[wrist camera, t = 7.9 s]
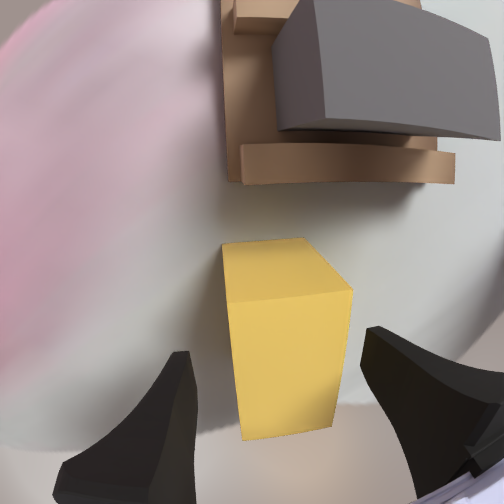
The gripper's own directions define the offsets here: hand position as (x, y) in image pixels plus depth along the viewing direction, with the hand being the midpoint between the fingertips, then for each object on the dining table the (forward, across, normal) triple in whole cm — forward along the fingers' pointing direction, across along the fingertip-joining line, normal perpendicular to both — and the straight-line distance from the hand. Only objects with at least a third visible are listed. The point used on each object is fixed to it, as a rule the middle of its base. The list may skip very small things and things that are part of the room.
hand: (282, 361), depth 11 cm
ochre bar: (+5, 0, 0) cm, 5 cm away
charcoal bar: (+4, -4, -11) cm, 12 cm away
